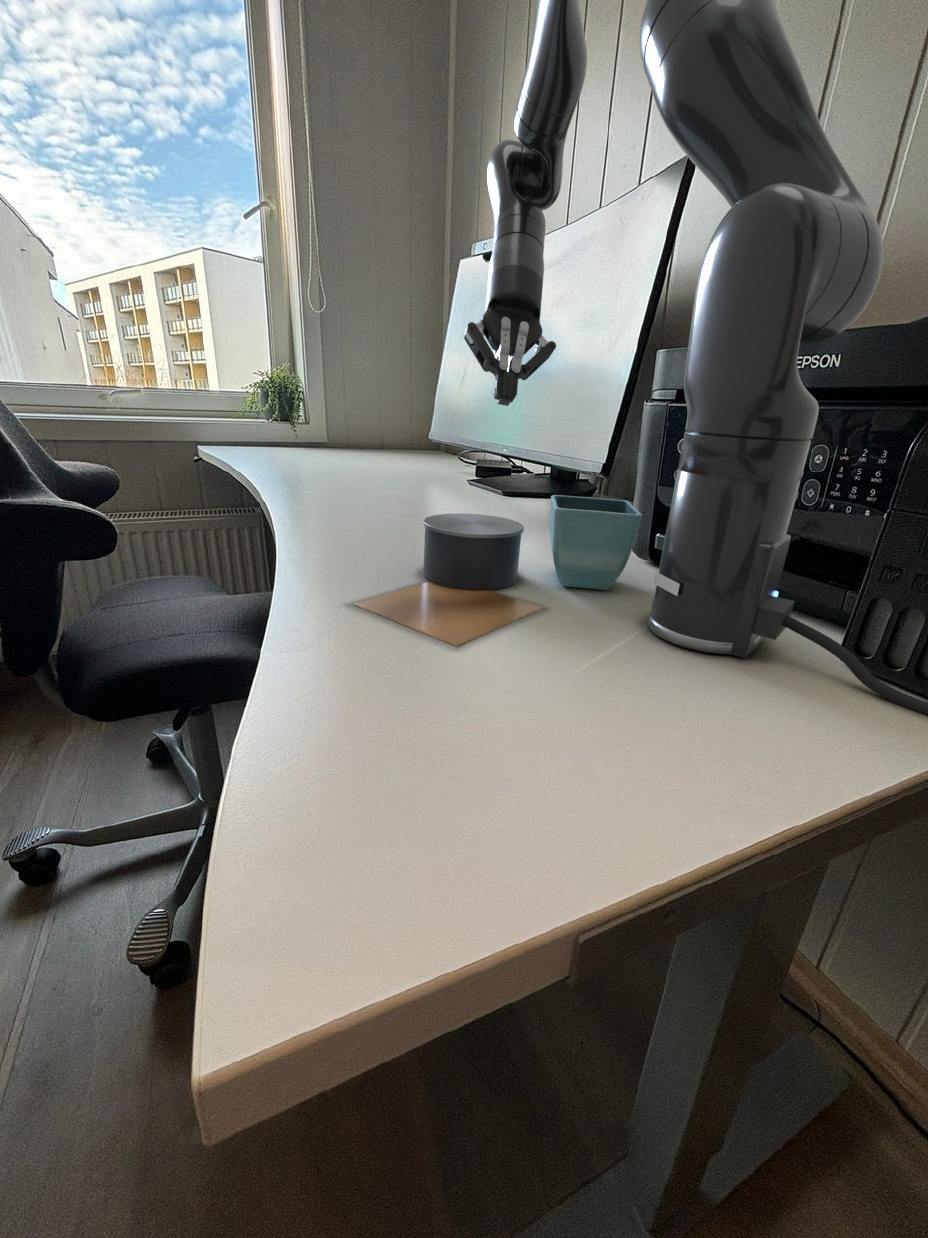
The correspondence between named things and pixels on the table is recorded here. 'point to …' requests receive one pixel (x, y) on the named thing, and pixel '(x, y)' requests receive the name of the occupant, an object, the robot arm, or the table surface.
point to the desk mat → (449, 611)
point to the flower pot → (591, 539)
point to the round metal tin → (471, 551)
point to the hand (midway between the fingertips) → (504, 402)
